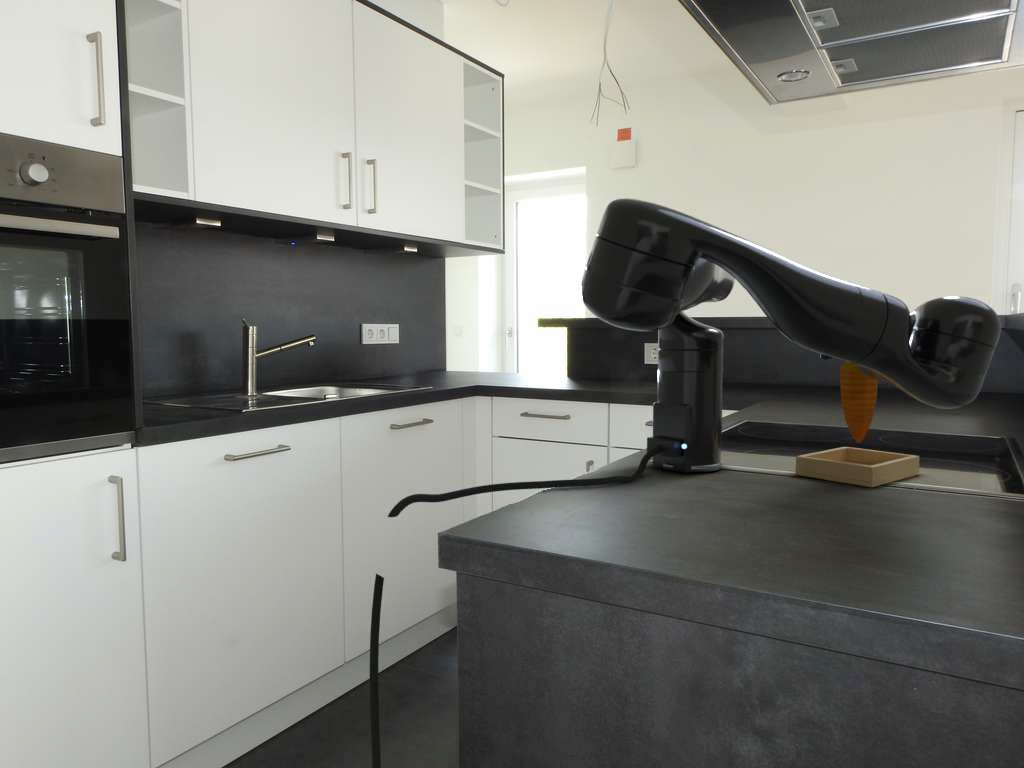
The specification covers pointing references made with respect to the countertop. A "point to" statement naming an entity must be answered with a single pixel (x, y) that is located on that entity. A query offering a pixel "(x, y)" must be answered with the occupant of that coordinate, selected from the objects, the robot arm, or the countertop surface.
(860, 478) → the tray
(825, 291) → the robot arm
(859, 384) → the carrot
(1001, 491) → the countertop surface
